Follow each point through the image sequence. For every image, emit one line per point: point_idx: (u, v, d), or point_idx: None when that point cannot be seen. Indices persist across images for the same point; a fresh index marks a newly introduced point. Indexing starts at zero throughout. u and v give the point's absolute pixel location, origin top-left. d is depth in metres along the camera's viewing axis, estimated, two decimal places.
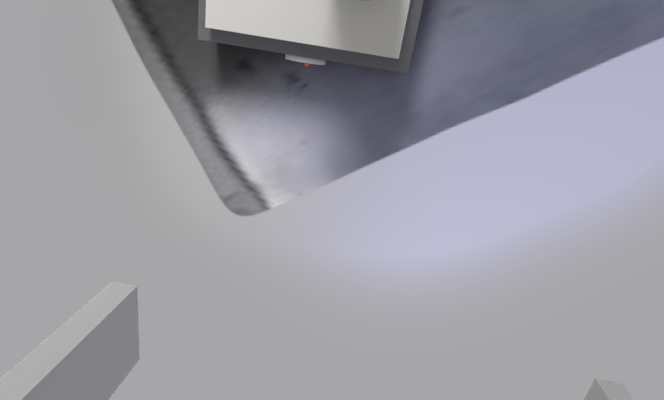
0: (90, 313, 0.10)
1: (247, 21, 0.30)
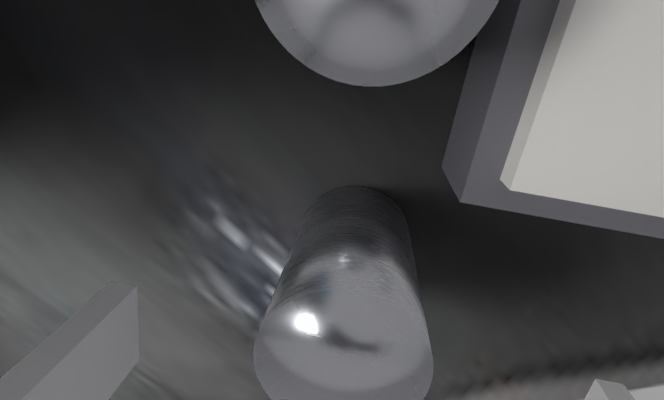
0: (90, 313, 0.10)
1: None
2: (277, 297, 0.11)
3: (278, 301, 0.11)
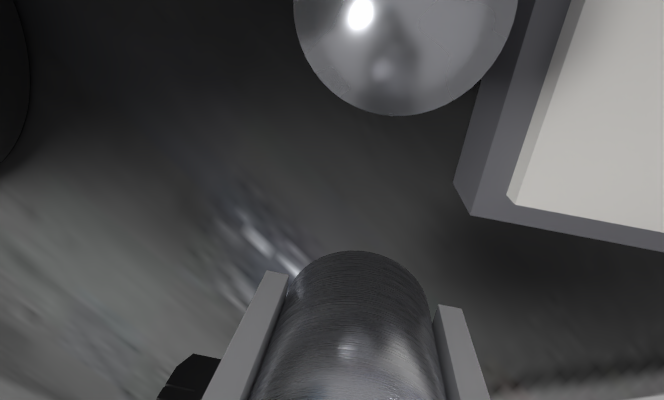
0: (265, 296, 0.12)
1: None
2: None
3: None
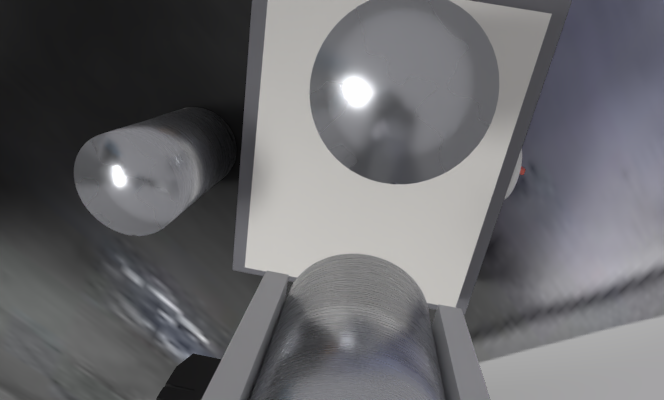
0: (265, 296, 0.12)
1: (455, 254, 0.21)
2: None
3: None
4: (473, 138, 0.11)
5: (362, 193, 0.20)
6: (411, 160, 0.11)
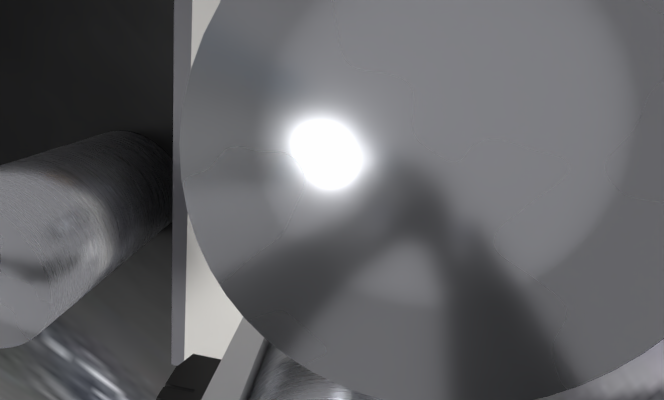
0: None
1: None
2: None
3: None
4: None
5: None
6: (473, 358, 0.04)
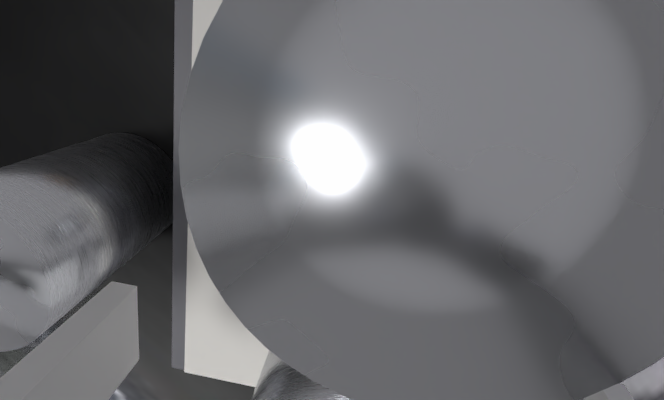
0: (90, 313, 0.10)
1: None
2: None
3: None
4: None
5: None
6: (478, 368, 0.04)
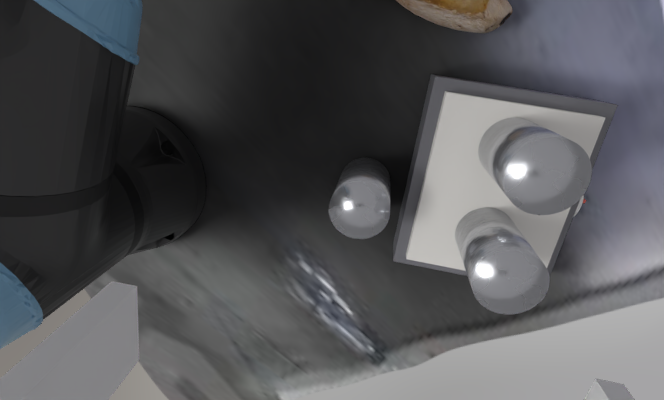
0: (90, 312, 0.10)
1: (542, 251, 0.34)
2: (481, 255, 0.28)
3: (484, 256, 0.27)
4: (578, 195, 0.24)
5: None
6: (548, 204, 0.25)
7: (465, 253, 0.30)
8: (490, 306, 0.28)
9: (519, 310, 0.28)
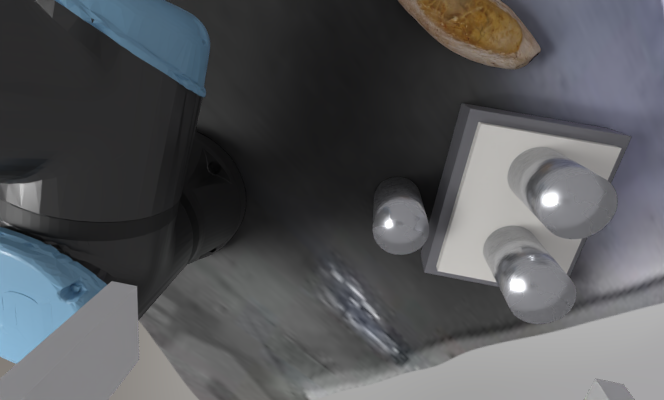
0: (90, 313, 0.10)
1: (560, 264, 0.38)
2: (516, 272, 0.31)
3: (520, 273, 0.31)
4: (605, 223, 0.28)
5: None
6: (578, 230, 0.29)
7: (498, 269, 0.34)
8: (523, 317, 0.32)
9: (548, 320, 0.32)
